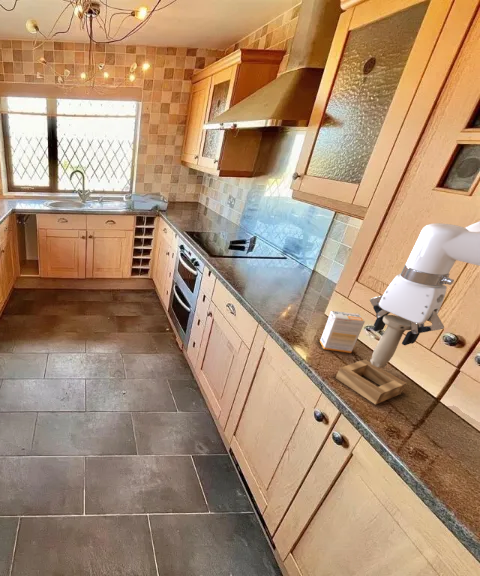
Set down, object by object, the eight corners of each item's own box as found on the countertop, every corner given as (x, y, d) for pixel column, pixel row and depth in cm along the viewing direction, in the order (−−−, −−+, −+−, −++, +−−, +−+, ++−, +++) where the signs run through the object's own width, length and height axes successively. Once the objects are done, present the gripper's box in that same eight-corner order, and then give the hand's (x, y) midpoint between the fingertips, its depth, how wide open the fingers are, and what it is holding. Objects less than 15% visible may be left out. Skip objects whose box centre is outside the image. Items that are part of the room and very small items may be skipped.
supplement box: (345, 345, 107) (359, 313, 101) (351, 353, 103) (366, 321, 97) (318, 341, 110) (330, 309, 104) (323, 349, 106) (335, 317, 100)
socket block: (359, 369, 97) (364, 359, 95) (401, 393, 87) (407, 383, 85) (335, 378, 93) (339, 367, 91) (375, 404, 84) (381, 393, 82)
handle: (394, 373, 84) (420, 328, 77) (365, 366, 86) (387, 322, 79) (388, 362, 88) (412, 318, 81) (360, 356, 90) (381, 313, 83)
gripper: (481, 287, 68) (441, 352, 76) (391, 261, 83) (366, 318, 91) (461, 293, 66) (422, 359, 74) (373, 265, 81) (348, 323, 89)
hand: (391, 336), depth 82 cm, fingers closed on handle, 6 cm apart
